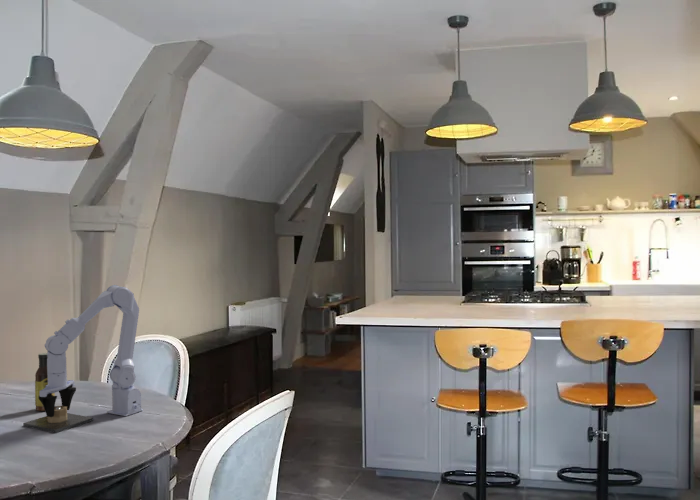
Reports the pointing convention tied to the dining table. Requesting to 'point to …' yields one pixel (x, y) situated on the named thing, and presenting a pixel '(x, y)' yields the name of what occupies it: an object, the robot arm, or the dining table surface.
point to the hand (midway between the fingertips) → (58, 413)
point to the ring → (59, 415)
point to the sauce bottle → (41, 380)
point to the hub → (57, 427)
